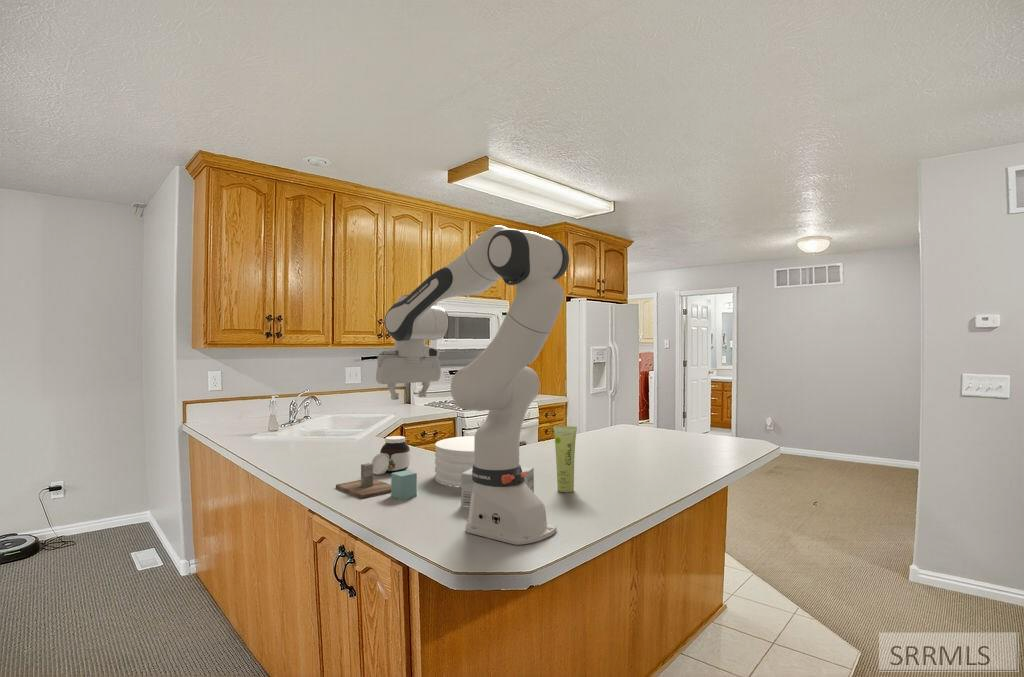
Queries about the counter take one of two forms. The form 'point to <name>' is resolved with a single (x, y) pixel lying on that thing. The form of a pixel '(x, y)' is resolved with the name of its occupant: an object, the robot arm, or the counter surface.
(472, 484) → the supplement box
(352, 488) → the post stand
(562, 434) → the tube
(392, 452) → the spread jar
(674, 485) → the counter surface
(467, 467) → the plate stack
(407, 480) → the teal rectangular block
